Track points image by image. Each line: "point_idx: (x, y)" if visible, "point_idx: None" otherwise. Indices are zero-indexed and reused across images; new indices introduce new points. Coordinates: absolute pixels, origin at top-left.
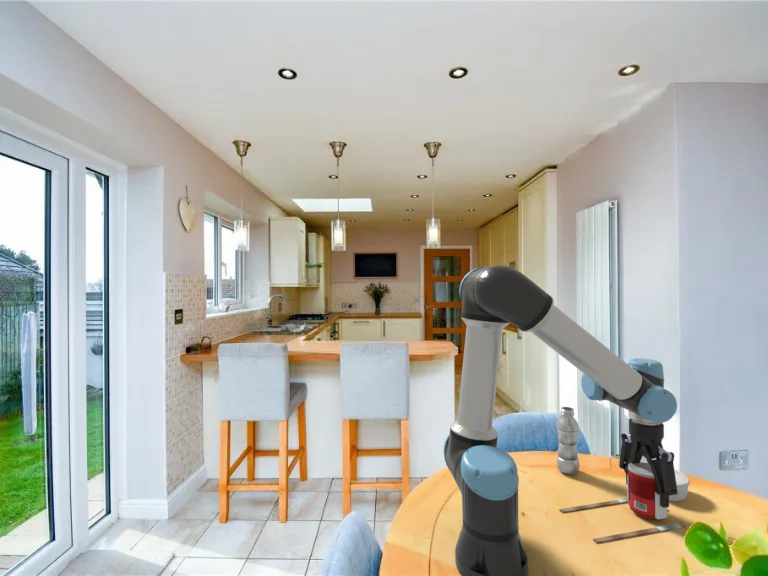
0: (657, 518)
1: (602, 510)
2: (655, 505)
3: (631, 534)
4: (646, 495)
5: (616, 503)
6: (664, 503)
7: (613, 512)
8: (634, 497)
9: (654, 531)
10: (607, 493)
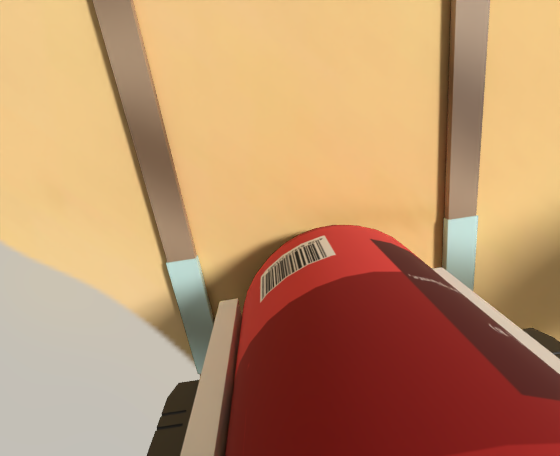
0: (222, 303)
1: (408, 50)
2: (225, 351)
3: (120, 61)
4: (256, 357)
5: (447, 193)
6: (162, 418)
7: (373, 115)
8: (339, 266)
9: (157, 226)
10: (555, 211)
